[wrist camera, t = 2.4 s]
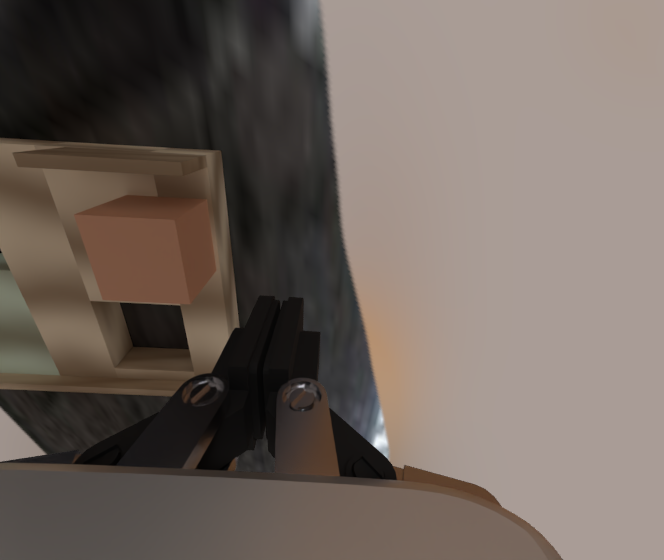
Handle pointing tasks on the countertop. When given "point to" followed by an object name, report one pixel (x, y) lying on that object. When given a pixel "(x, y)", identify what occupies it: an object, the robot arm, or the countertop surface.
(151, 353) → the wooden cubby shelf
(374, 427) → the countertop surface
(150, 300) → the block
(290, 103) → the countertop surface
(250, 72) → the countertop surface
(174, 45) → the countertop surface
